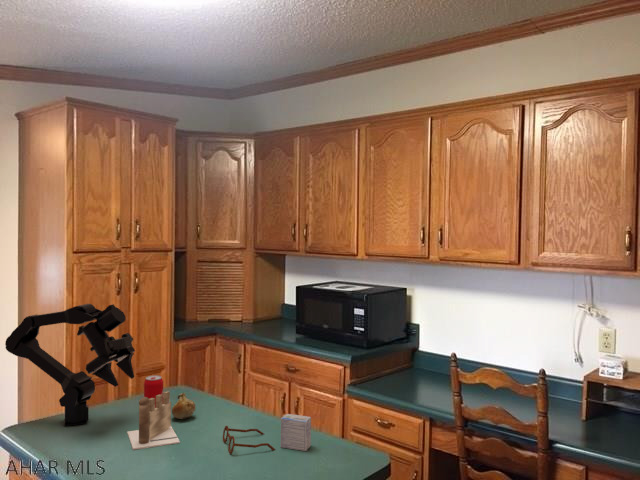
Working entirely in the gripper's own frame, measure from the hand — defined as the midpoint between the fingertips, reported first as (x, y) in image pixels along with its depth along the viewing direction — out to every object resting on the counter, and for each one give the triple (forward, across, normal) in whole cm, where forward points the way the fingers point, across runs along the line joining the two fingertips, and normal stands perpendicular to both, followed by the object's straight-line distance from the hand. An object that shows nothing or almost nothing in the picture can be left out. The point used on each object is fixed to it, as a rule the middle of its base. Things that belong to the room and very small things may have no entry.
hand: (125, 381), depth 171 cm
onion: (+20, +12, -3) cm, 23 cm away
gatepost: (+19, -10, -2) cm, 21 cm away
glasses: (+36, -4, -25) cm, 44 cm away
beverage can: (+13, +14, +7) cm, 20 cm away
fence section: (+18, -3, -3) cm, 19 cm away
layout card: (+19, -6, -2) cm, 20 cm away
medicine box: (+44, -2, -37) cm, 57 cm away
